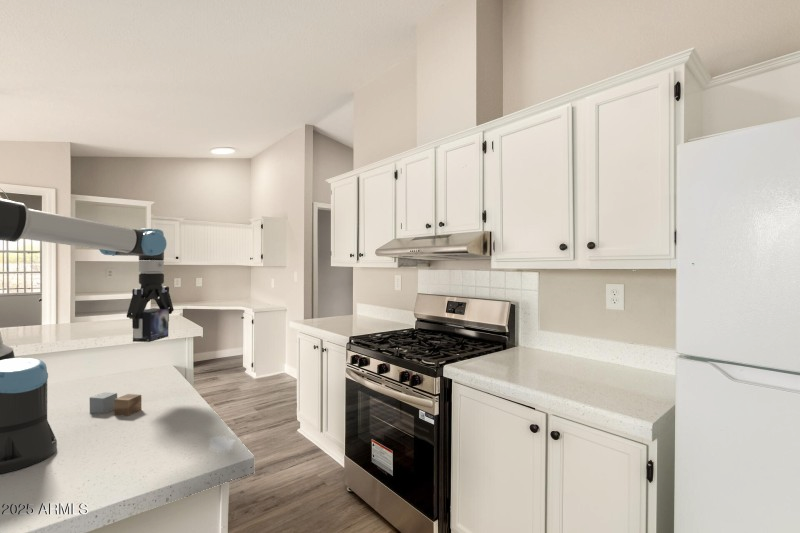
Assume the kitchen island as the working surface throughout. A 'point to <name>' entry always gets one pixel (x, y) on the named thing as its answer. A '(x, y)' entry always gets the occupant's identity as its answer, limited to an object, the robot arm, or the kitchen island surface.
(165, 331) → the small box
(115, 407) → the walnut block
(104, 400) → the slate-grey block
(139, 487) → the kitchen island surface
